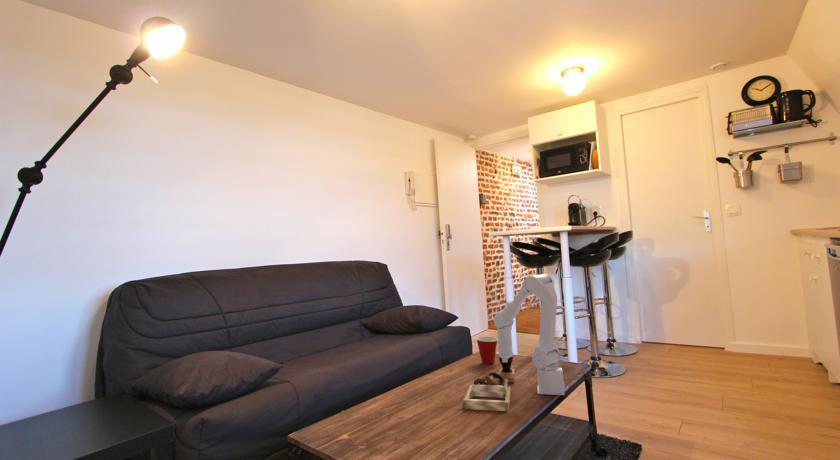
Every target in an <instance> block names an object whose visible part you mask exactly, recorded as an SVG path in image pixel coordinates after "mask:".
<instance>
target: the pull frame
mask: <svg viewBox="0 0 840 460" xmlns="http://www.w3.org/2000/svg"><path fill="white" fill-rule="evenodd" d="M498 374H499V375H500V376H501V377H502V378H503V379H504V381H505V382H504V386H499V384H497V385H479V384H478V385H474V384H471V385H472V397H480V398H482V397H483V398H502V399H505V398H506V391H507V387H509V386H508V385H509V383H515V380H516V379H515V378H516V373H515V368H511V369H510V373H504V372H503V368H499V371H498ZM498 381H499V383H500V380H498Z"/></svg>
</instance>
